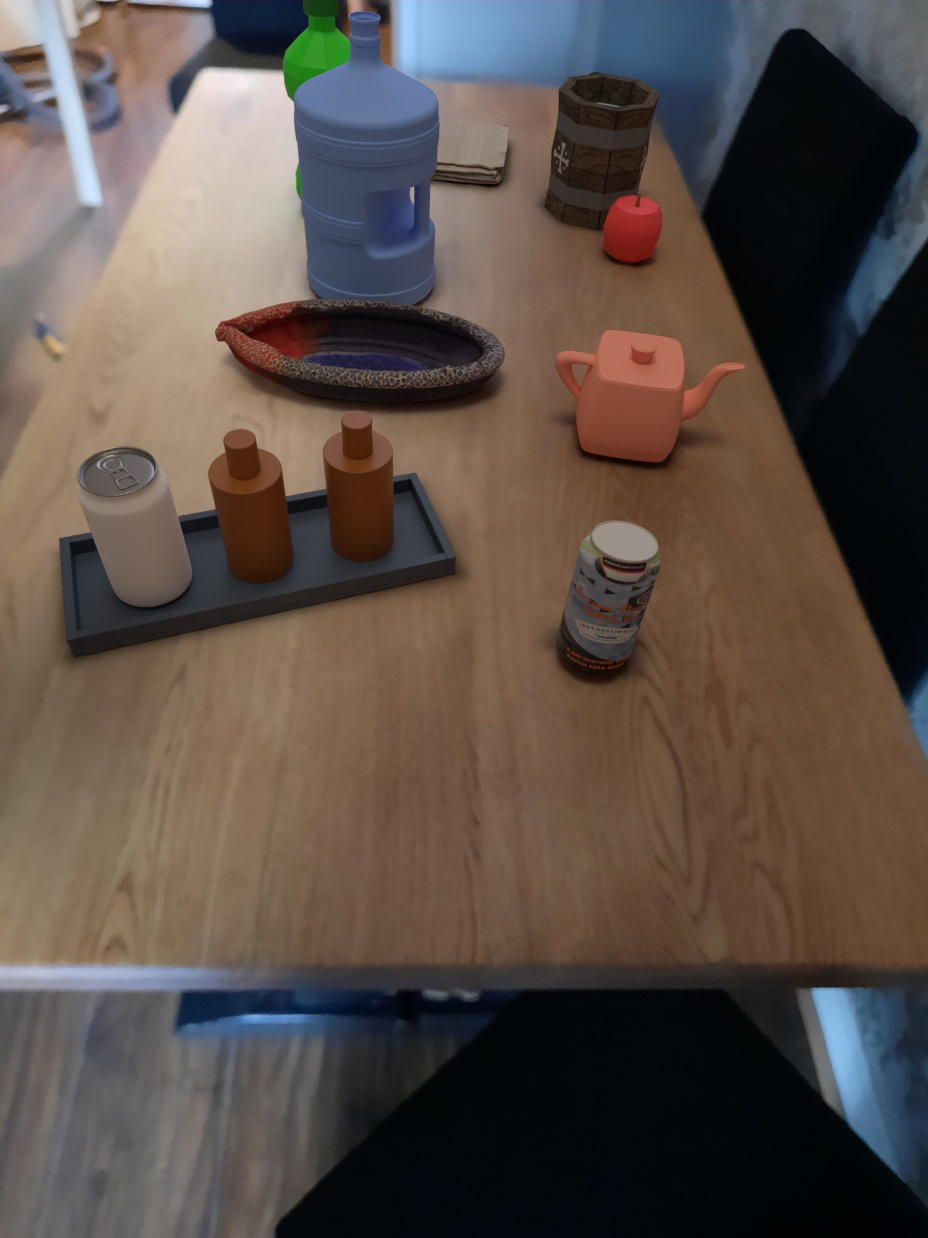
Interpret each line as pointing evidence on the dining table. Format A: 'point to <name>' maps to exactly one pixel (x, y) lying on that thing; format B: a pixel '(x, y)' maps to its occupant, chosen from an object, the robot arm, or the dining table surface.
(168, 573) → the can
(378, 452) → the amber bottle
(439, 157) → the washcloth
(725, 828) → the dining table surface
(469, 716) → the dining table surface
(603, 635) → the beverage can
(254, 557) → the amber bottle
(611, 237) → the apple
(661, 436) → the teapot
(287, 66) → the plastic bottle
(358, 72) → the water jug
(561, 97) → the mug
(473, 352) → the dish
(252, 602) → the tray
